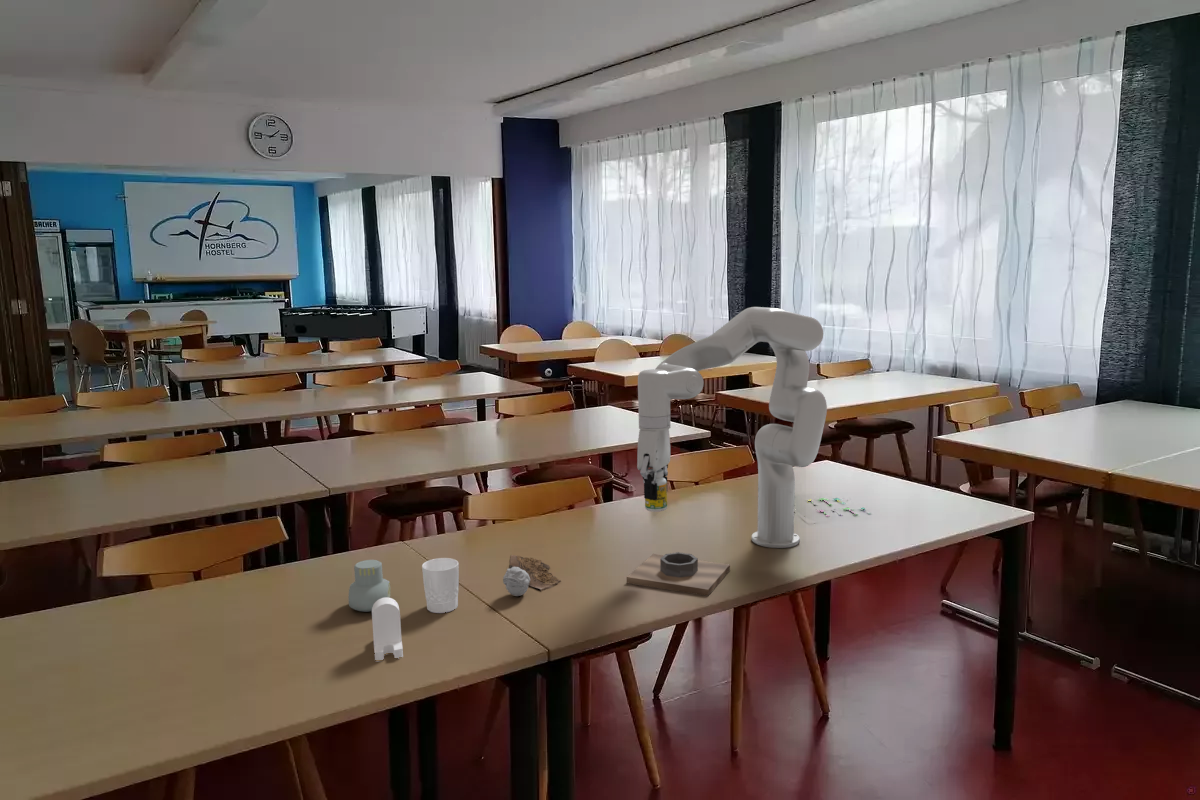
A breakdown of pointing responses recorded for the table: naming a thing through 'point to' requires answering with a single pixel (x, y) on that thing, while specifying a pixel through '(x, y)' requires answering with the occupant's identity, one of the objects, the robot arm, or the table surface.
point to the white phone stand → (386, 628)
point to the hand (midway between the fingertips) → (655, 494)
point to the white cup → (441, 584)
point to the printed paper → (831, 504)
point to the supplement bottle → (658, 494)
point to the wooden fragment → (535, 572)
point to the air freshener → (368, 585)
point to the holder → (679, 573)
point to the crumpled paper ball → (516, 581)
